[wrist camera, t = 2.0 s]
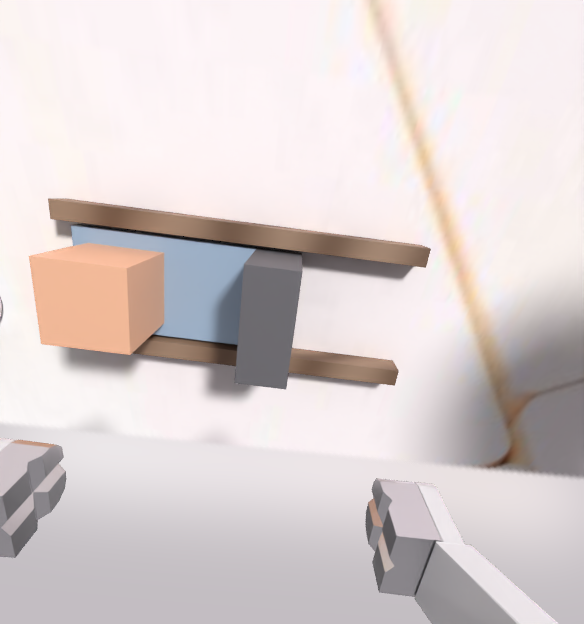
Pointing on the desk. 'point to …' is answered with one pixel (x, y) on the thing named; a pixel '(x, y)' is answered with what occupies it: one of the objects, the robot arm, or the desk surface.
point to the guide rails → (258, 236)
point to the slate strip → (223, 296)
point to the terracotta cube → (98, 296)
